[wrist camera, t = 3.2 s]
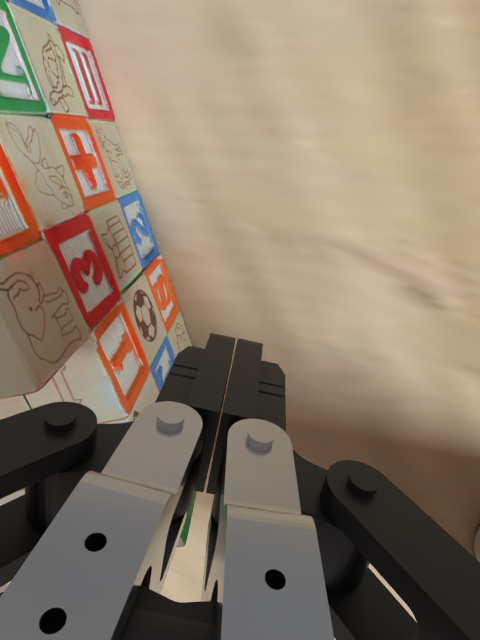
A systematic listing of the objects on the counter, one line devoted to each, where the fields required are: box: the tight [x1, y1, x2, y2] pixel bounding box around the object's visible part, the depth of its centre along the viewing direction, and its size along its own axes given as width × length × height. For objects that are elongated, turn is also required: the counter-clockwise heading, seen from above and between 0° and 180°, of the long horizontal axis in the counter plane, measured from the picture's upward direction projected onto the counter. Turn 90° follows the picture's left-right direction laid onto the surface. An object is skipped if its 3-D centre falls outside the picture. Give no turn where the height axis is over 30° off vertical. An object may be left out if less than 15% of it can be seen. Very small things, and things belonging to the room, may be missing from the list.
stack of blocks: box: [0, 0, 196, 547], centre depth 15 cm, size 21×6×12 cm, turn 15°
